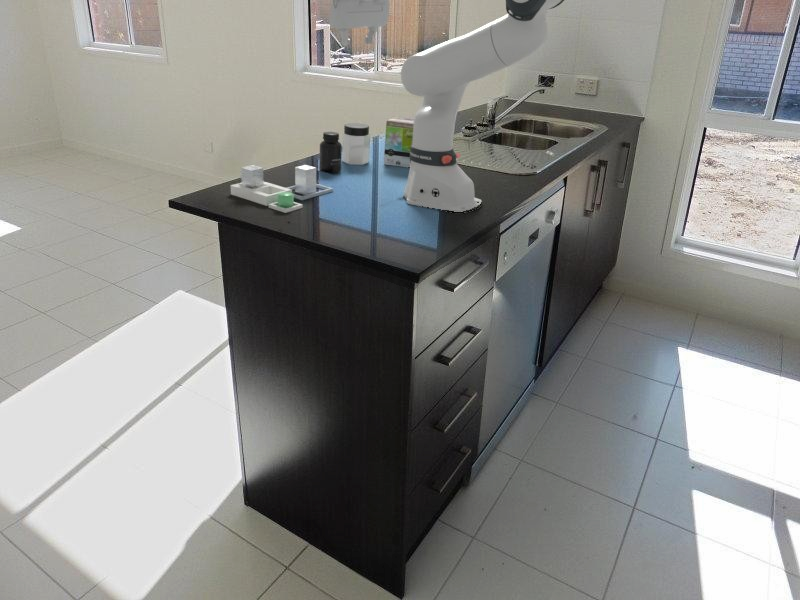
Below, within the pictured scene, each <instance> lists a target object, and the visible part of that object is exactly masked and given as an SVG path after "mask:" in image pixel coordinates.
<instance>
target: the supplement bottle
mask: <svg viewBox="0 0 800 600" xmlns="http://www.w3.org/2000/svg"><path fill="white" fill-rule="evenodd" d="M322 139H323V141H321V142H320V143H319V160H318V161H319V165H318V166H319V167H318V168H319V169H318V170H319V172H321V173H322V172H323V173H327V174H330V175H338V174H340V173H341V172H342V151H343V144H341V142H340V133H339V132H335V131H324V132H323V136H322Z"/></svg>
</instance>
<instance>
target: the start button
mask: <svg viewBox="0 0 800 600" xmlns="http://www.w3.org/2000/svg"><path fill="white" fill-rule="evenodd" d="M292 193H293V192H292ZM292 193H287V192H283V193H279V194H277V200H278V206H280V207H283V208H289V207H292V206H294V202H295V201H294V200H295V198H294V195H293V194H294V193H293V194H292Z"/></svg>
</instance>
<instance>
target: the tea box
mask: <svg viewBox="0 0 800 600" xmlns="http://www.w3.org/2000/svg"><path fill="white" fill-rule="evenodd" d="M413 126H414V117H413V118H411V117H403V116H396V115H394V116H393V117H391V118H389V119H388V120H386V124H385V138H384V139H385V140H384V155H383V156H384V157H383V165H384V166H386V165H388V166H395V167H404V168H408V167H410V148H411V145H412V140H413Z"/></svg>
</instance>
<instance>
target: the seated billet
mask: <svg viewBox="0 0 800 600" xmlns="http://www.w3.org/2000/svg"><path fill="white" fill-rule="evenodd" d="M240 177H241V183H242V186H243V187H247V188H250V189H255V188H259V187H263V186H264V182H265V181H264V167H261V166H257V165H254V164H252V165H247V166H242V167H240ZM263 181H264V182H263Z"/></svg>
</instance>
